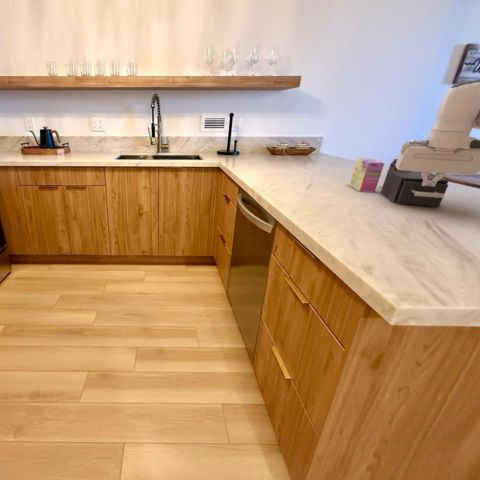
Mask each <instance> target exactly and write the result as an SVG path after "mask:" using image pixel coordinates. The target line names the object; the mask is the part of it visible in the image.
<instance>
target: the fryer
mask: <svg viewBox="0 0 480 480" xmlns="http://www.w3.org/2000/svg"><path fill="white" fill-rule="evenodd" d="M421 173H422V172H419V171H398V170H389V169H388V170H387V172H386V175H385V178H384V182H383V184H382V188H381V191H380V193H381V194H382V195H383V196H385V198H387V200H390V201H391V203H393V204H399V203H398V202H397V198H398V195H399V192H400V190H401V187H402V184H403V181H404V180H409V181H423V178H422V175H421ZM436 176H437V175H435V173H433V172H430V175H429V176H427V178H428V180H433V179H434V178H435V177H436ZM438 182H439V183H442V184H448V183H449V180H448V179H445V178H444V177H443V178H442V179H440V180H439V181H438ZM403 204H405V203H403ZM405 205H406V204H405ZM414 205H415V206H416V205H417V204H414ZM417 206H418V205H417ZM425 206H427V207H429V206H428V205H425ZM437 207H438V208H439V206H436V208H437Z"/></svg>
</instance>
